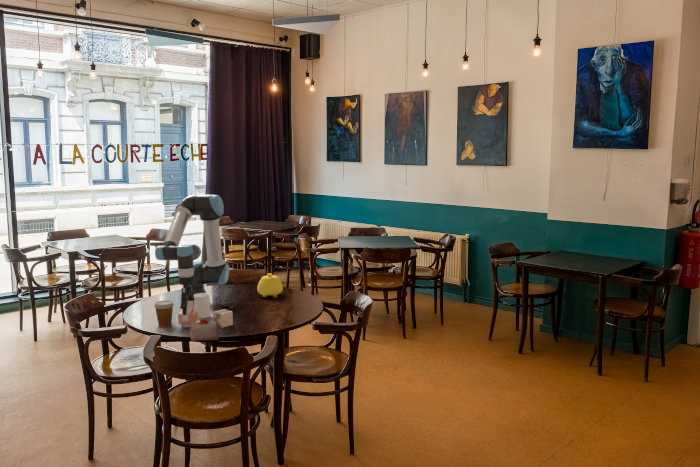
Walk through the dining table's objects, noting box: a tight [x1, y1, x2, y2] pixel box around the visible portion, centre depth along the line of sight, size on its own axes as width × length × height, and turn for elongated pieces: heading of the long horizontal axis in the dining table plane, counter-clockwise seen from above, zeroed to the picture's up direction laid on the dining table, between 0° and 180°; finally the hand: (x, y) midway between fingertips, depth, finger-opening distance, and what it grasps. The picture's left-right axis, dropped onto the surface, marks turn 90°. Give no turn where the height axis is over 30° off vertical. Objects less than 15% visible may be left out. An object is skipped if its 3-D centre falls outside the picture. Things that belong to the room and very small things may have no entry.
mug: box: [193, 292, 211, 320], centre depth 328 cm, size 12×8×12 cm
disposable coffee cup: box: [153, 300, 175, 328], centre depth 310 cm, size 10×10×12 cm
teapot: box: [256, 272, 284, 298], centre depth 373 cm, size 20×16×14 cm
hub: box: [180, 306, 191, 330], centre depth 307 cm, size 7×7×10 cm
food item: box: [189, 318, 220, 342], centre depth 288 cm, size 14×8×10 cm, turn 98°
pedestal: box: [212, 308, 234, 329], centre depth 311 cm, size 7×7×7 cm
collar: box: [177, 309, 199, 325], centre depth 307 cm, size 8×8×5 cm
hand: (188, 317), depth 307 cm, fingers open, 13 cm apart
